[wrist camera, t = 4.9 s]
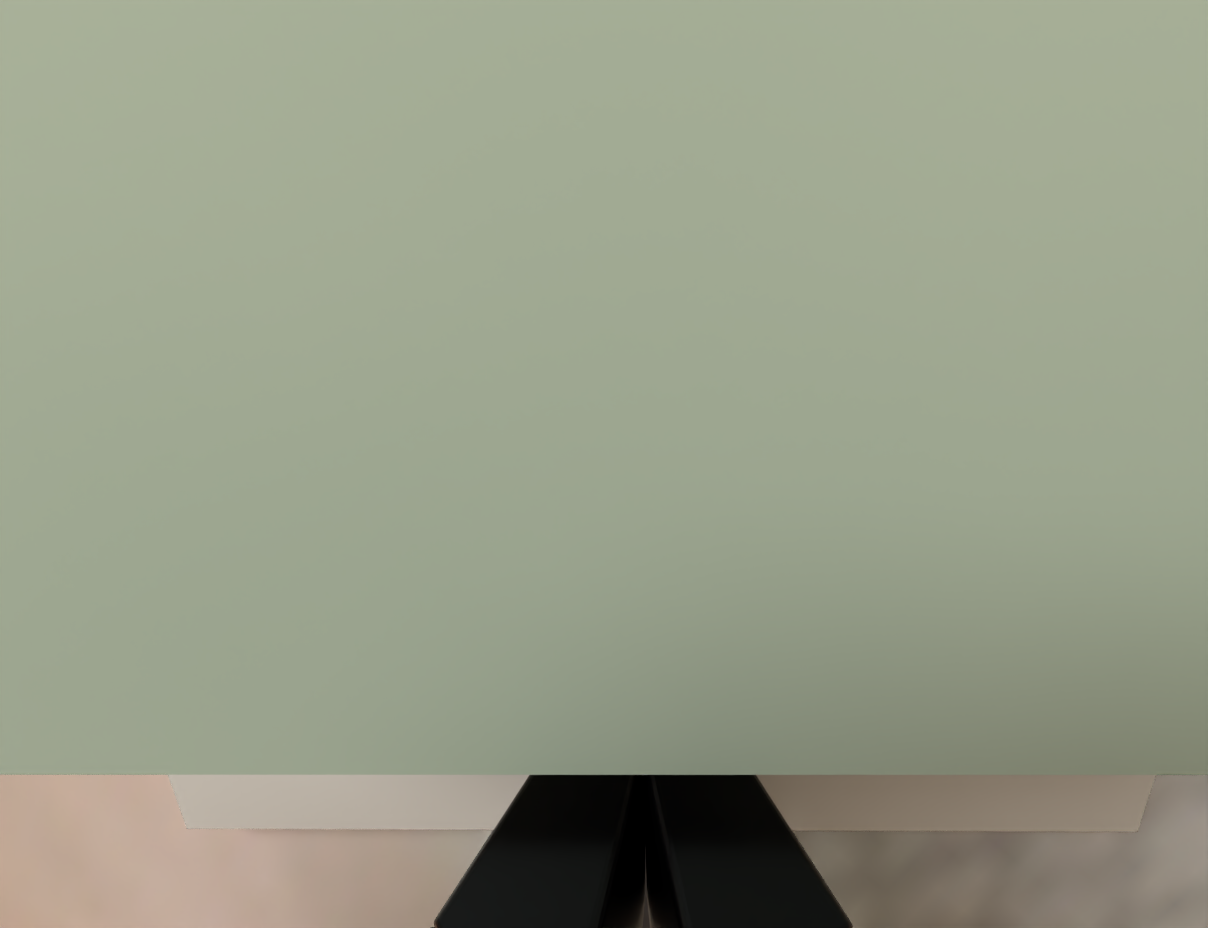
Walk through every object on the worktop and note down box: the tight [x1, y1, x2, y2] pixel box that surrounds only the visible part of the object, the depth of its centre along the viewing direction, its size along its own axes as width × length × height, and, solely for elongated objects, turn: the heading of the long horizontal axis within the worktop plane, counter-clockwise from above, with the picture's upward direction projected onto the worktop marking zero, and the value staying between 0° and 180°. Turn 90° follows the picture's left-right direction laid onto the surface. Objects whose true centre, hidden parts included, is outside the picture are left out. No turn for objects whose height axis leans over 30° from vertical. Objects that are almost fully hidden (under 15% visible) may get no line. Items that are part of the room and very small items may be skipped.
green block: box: [0, 0, 1208, 775], centre depth 7 cm, size 6×10×4 cm, turn 92°
